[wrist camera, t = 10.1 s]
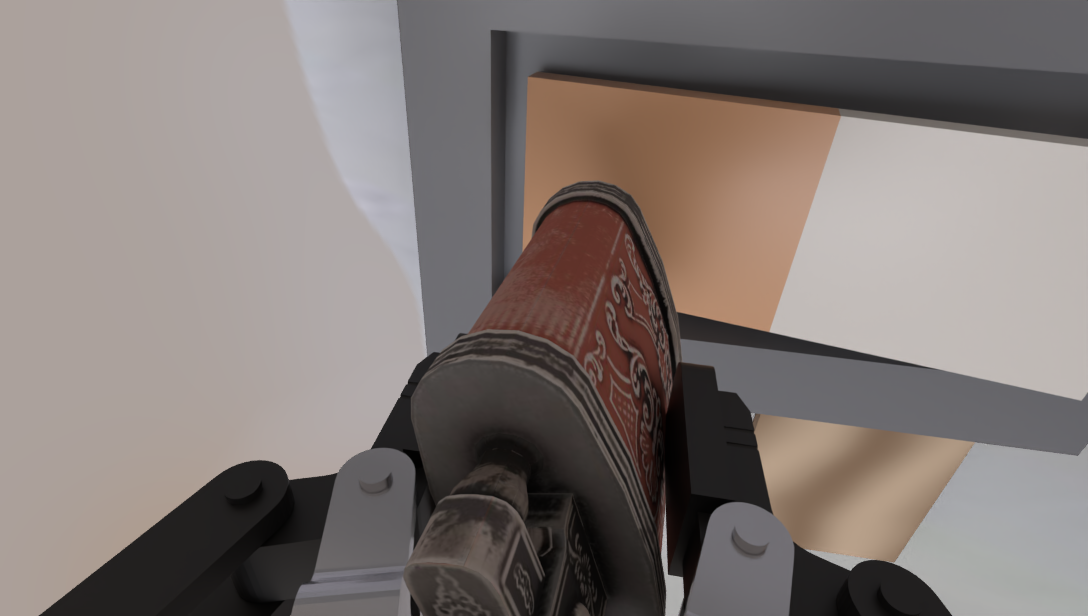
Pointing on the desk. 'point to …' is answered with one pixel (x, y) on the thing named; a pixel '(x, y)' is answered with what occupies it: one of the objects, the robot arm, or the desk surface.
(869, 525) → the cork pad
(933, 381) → the gray rectangular recessed tray
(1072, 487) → the desk surface
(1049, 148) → the two-tone tile
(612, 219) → the lighter
